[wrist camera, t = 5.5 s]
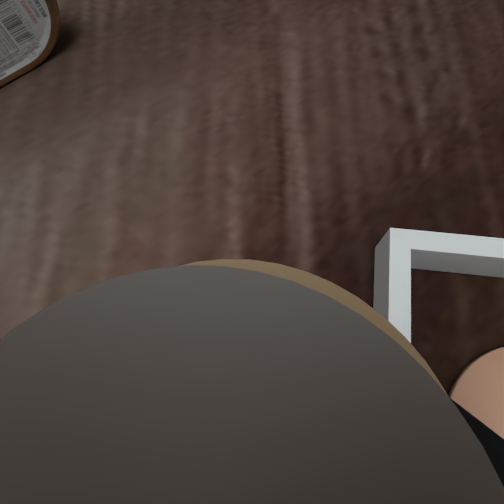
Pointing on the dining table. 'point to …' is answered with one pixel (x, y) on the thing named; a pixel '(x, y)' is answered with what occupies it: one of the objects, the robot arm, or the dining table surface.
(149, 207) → the dining table surface
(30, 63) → the tin
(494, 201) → the dining table surface
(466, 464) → the pepper mill
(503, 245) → the white square frame
